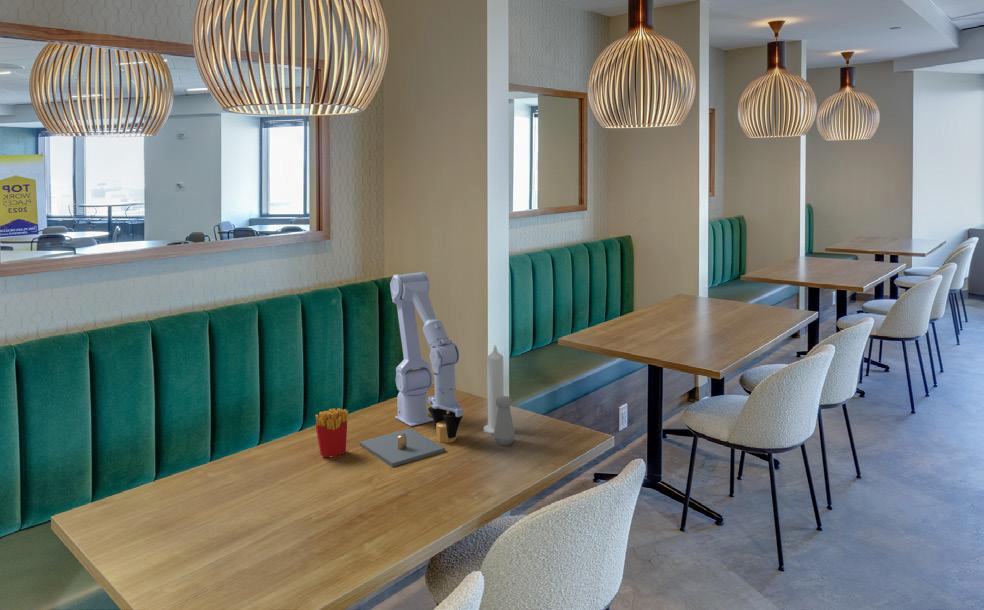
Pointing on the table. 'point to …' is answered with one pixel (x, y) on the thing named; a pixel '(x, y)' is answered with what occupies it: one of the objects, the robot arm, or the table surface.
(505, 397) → the salt shaker
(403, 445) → the copper pin
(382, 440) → the board
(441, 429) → the cap
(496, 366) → the candle
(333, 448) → the french fries
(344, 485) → the table surface
